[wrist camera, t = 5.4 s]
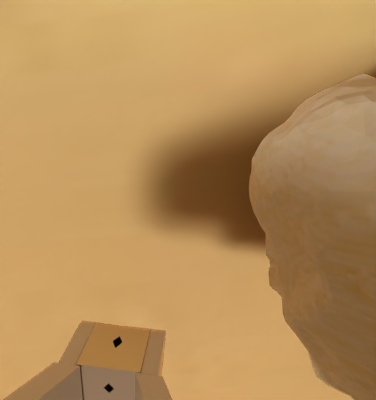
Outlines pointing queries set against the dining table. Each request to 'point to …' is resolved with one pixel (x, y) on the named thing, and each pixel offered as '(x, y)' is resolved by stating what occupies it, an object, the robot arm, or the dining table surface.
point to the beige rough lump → (325, 229)
